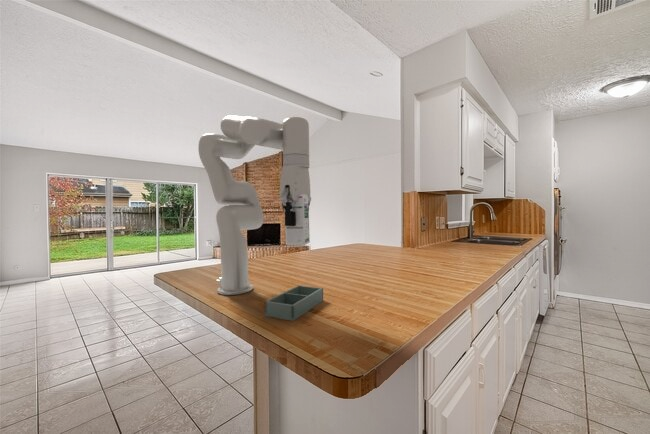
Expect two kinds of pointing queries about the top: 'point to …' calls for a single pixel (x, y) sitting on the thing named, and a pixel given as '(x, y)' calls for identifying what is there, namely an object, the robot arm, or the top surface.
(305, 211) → the syrup box
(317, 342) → the top surface
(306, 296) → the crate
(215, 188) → the robot arm
